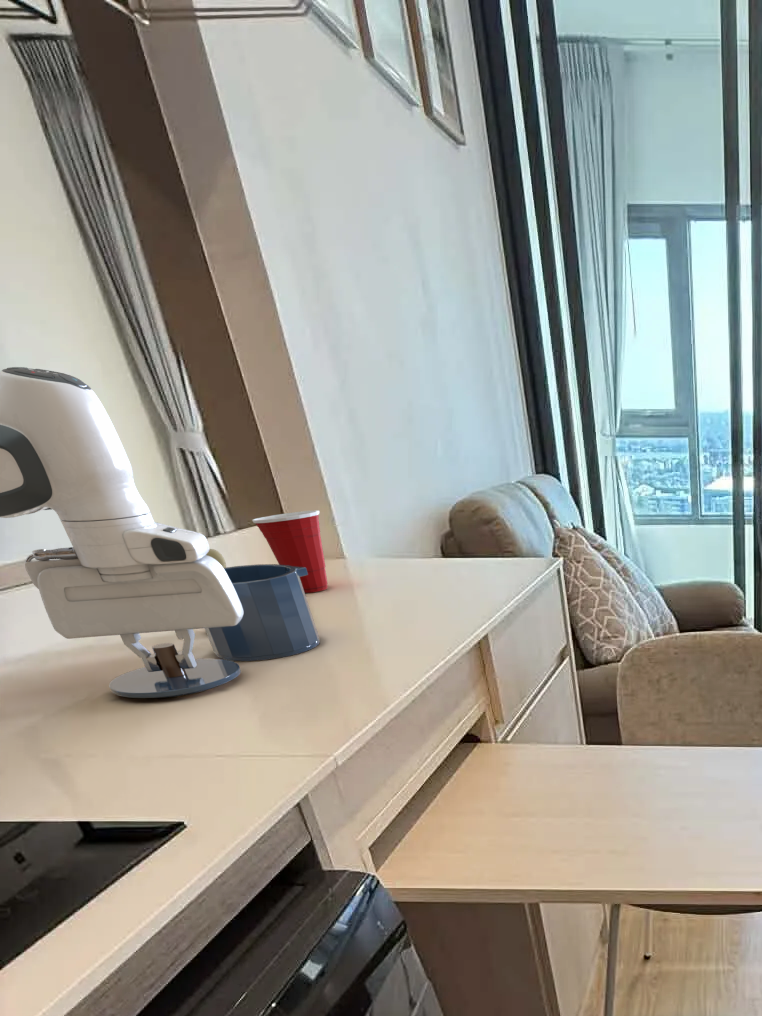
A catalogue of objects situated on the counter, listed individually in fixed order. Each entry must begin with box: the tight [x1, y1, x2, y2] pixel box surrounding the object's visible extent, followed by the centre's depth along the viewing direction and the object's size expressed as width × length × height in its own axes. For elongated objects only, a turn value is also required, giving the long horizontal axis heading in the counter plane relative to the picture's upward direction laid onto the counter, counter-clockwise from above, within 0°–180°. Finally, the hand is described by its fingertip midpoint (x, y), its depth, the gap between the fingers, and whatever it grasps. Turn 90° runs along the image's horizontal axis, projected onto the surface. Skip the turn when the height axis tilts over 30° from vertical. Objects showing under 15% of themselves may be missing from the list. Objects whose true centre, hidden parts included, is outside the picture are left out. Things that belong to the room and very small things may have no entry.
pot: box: [203, 563, 321, 662], centre depth 118 cm, size 14×19×10 cm
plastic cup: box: [251, 509, 328, 594], centre depth 148 cm, size 11×11×12 cm
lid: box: [108, 642, 242, 699], centre depth 106 cm, size 15×15×5 cm
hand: (173, 669), depth 106 cm, fingers closed on lid, 2 cm apart
